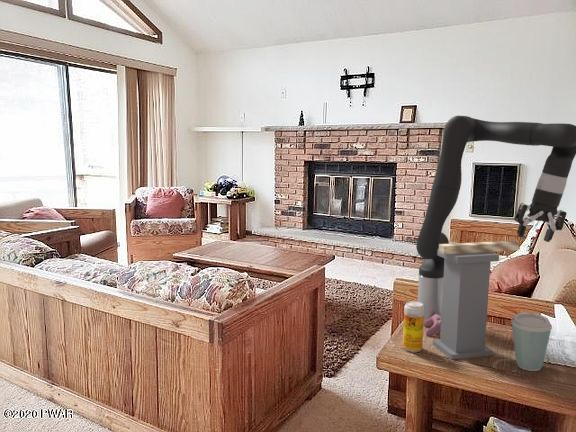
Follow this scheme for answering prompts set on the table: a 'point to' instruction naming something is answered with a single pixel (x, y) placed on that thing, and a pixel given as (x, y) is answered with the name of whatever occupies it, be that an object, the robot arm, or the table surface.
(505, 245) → the beech bar
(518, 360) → the disposable coffee cup
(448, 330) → the gray pedestal
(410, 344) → the yellow bottle
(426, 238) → the robot arm
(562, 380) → the table surface
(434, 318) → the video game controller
